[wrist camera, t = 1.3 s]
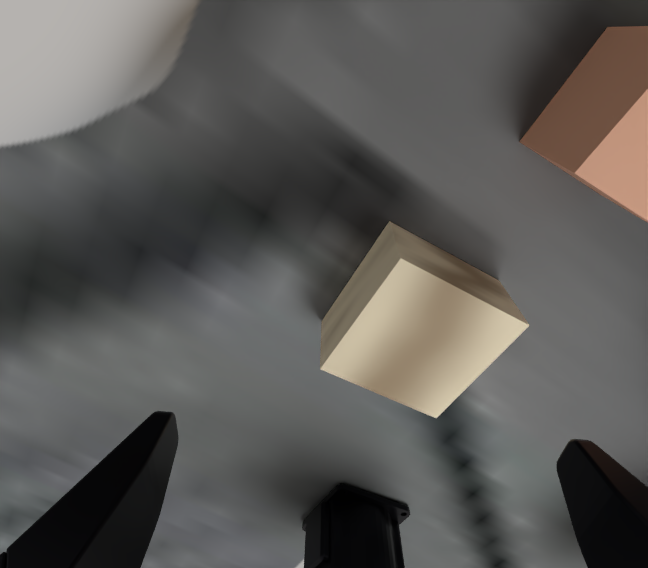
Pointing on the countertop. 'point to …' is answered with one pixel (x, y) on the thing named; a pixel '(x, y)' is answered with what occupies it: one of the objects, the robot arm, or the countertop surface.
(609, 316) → the countertop surface
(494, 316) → the birch block
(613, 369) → the countertop surface
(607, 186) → the terracotta cube
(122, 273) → the countertop surface
